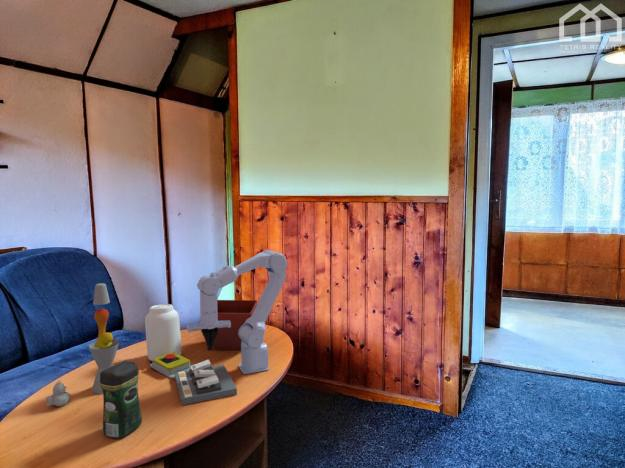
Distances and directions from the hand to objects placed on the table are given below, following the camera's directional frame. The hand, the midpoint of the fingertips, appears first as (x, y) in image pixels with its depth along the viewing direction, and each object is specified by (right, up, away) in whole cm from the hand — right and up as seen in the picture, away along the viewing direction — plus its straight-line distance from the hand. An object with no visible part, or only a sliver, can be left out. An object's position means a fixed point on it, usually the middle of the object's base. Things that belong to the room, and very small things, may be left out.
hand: (209, 349), depth 147 cm
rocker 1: (-3, -6, +1) cm, 7 cm away
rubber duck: (-42, -13, -17) cm, 47 cm away
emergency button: (-16, -9, +9) cm, 20 cm away
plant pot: (+2, -7, +32) cm, 33 cm away
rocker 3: (+2, -8, -11) cm, 14 cm away
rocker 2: (-1, -7, -5) cm, 9 cm away
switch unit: (-1, -11, -4) cm, 12 cm away
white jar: (-22, -8, +19) cm, 30 cm away
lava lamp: (-33, -11, -5) cm, 35 cm away
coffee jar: (-17, -14, -30) cm, 37 cm away
